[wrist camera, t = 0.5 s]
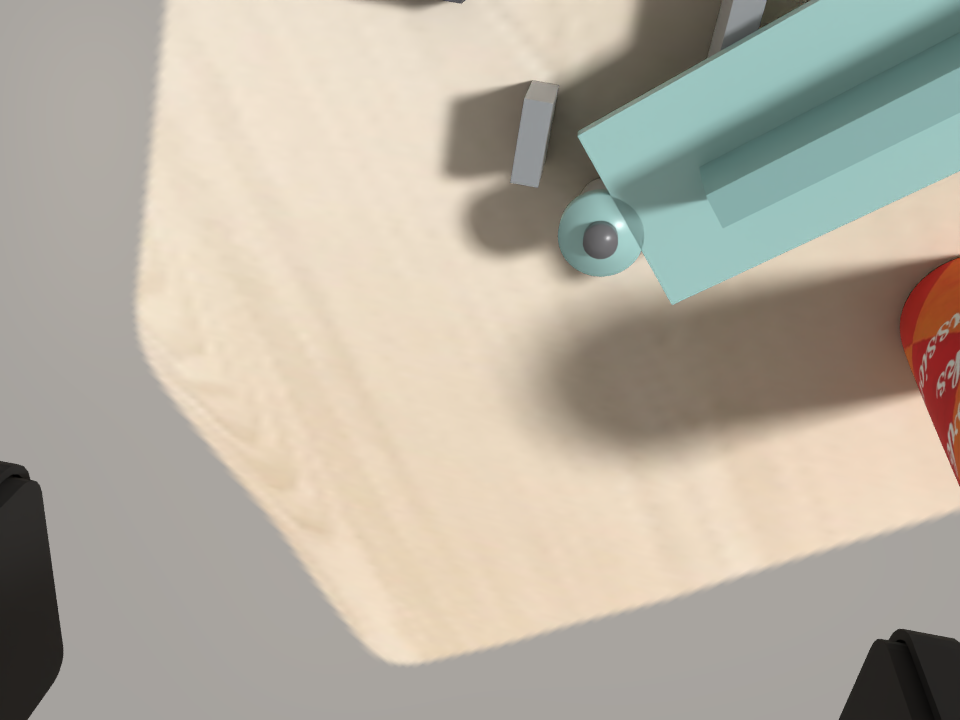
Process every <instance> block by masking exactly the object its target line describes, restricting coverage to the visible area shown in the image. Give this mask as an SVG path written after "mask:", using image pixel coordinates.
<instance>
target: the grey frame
mask: <svg viewBox="0 0 960 720" xmlns="http://www.w3.org/2000/svg"><path fill="white" fill-rule="evenodd" d="M766 1H767V0H722V2H721V6H720V10H719V14H718V18H717V22H716V26H715V29H714V33H713V37H712V41H711V45H710V49H709V53H708V57H707V58H709V57H711V56H712V55H714V54H716V53H718V52H719V51H721V50H723V49H725V48H727V47H728V46H730V45H732V44H734V43H735V42H737V41H739V40H741V39H743V38H744V37H746V36H748V35H750V34H751V33H753V32H755V31H757V30H759V26H760V23H761V19H762V15H763V12H764V8H765V5H766ZM558 89H559V85H555V84H550V83H544V82H539V81H533V80H532V82H531V85H530V87H529V89H528V91H527V94H526V96H525V98H524V103H523V109H522V115H521V121H520V127H519V133H518V139H517V145H516V151H515V158H514V164H513V170H512V176H511V182H510V183H515V184H520V185H525V186H531V187H536V188H538V186H539V182H540V179H541V175H542V172H543V168H544V165H545V160H546V154H547V149H548V143H549V138H550V132H551V127H552V121H553V116H554V110H555V105H556V99H557V94H558ZM597 189H607V188H606V186H605V185H604V183H603V181H602V179H601V178H599V179H595V180H593V181H591V182H590V183H588V184H587V185H586V186H585V188H584V189H583V191H582V193H581V194H583V193H585V192H588V191H591V190H597Z"/></svg>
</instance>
